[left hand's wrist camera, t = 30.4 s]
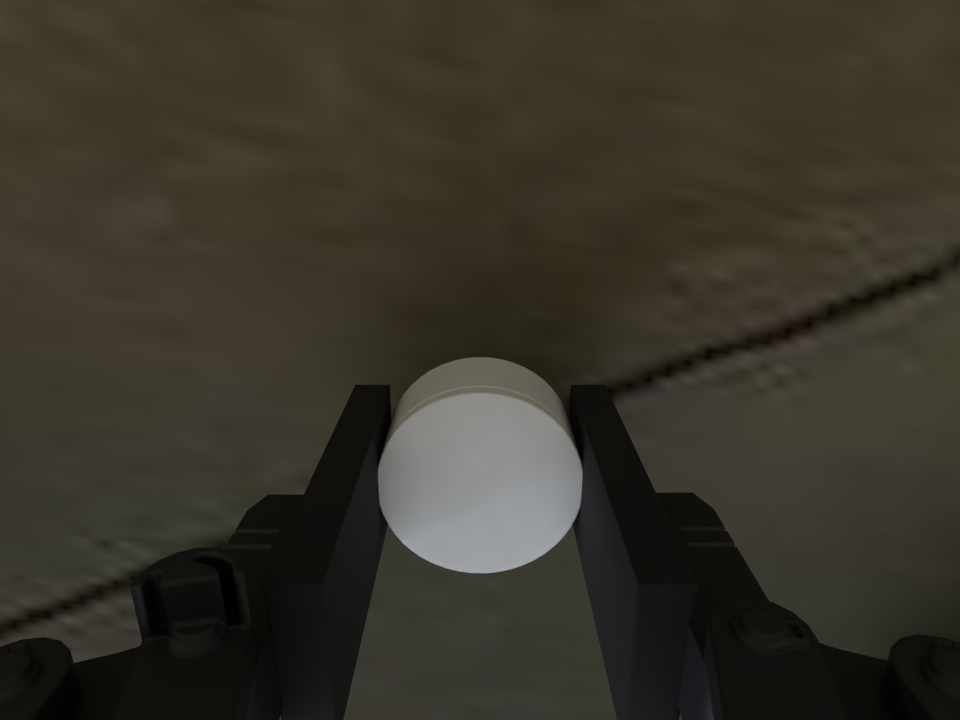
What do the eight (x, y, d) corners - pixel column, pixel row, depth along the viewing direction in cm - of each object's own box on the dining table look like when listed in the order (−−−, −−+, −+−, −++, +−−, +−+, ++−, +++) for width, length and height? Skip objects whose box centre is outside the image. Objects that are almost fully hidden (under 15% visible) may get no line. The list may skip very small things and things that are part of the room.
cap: (453, 545, 16) (449, 603, 14) (353, 415, 14) (333, 459, 12) (603, 466, 15) (620, 516, 13) (510, 320, 14) (515, 353, 12)
